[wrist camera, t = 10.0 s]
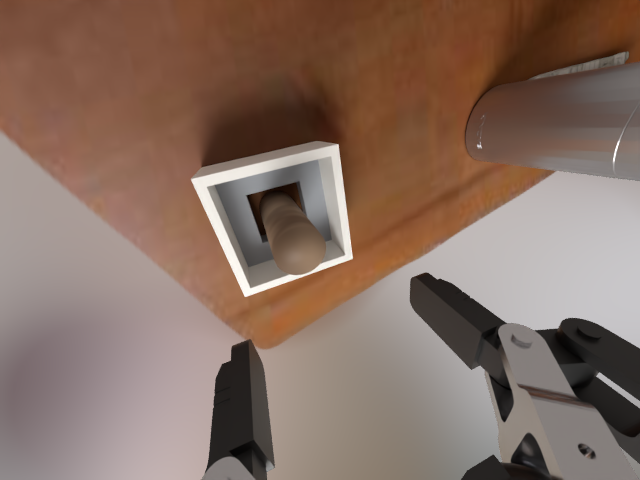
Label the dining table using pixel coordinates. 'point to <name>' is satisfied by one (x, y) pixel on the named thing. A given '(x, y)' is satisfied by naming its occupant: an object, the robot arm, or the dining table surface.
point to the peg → (291, 234)
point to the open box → (266, 173)
